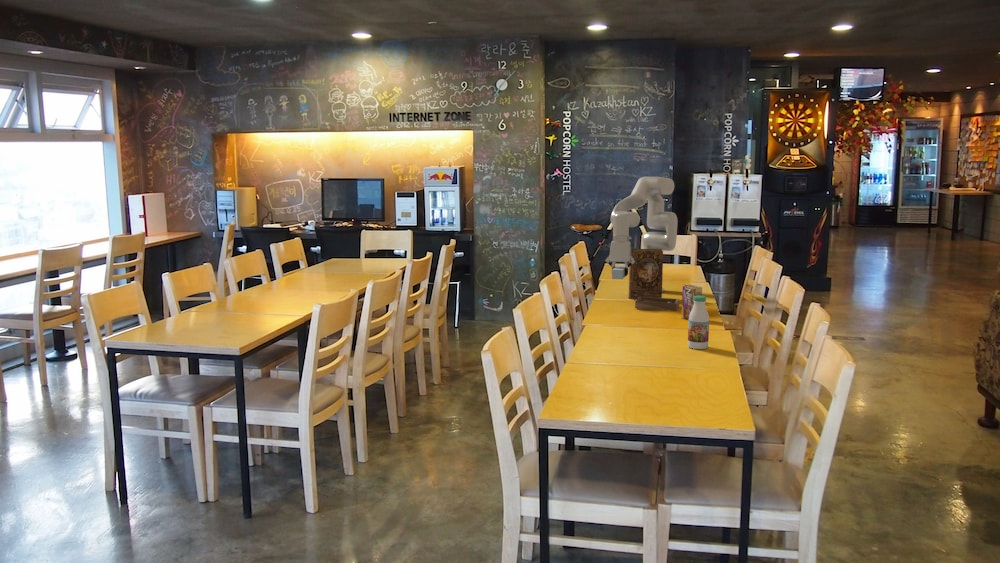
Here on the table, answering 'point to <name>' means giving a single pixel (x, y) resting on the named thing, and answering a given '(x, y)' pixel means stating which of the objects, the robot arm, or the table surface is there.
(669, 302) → the frame
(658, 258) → the book
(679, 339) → the table surface
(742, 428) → the table surface
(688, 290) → the candy box
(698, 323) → the milk bottle
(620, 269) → the grey rectangular block
